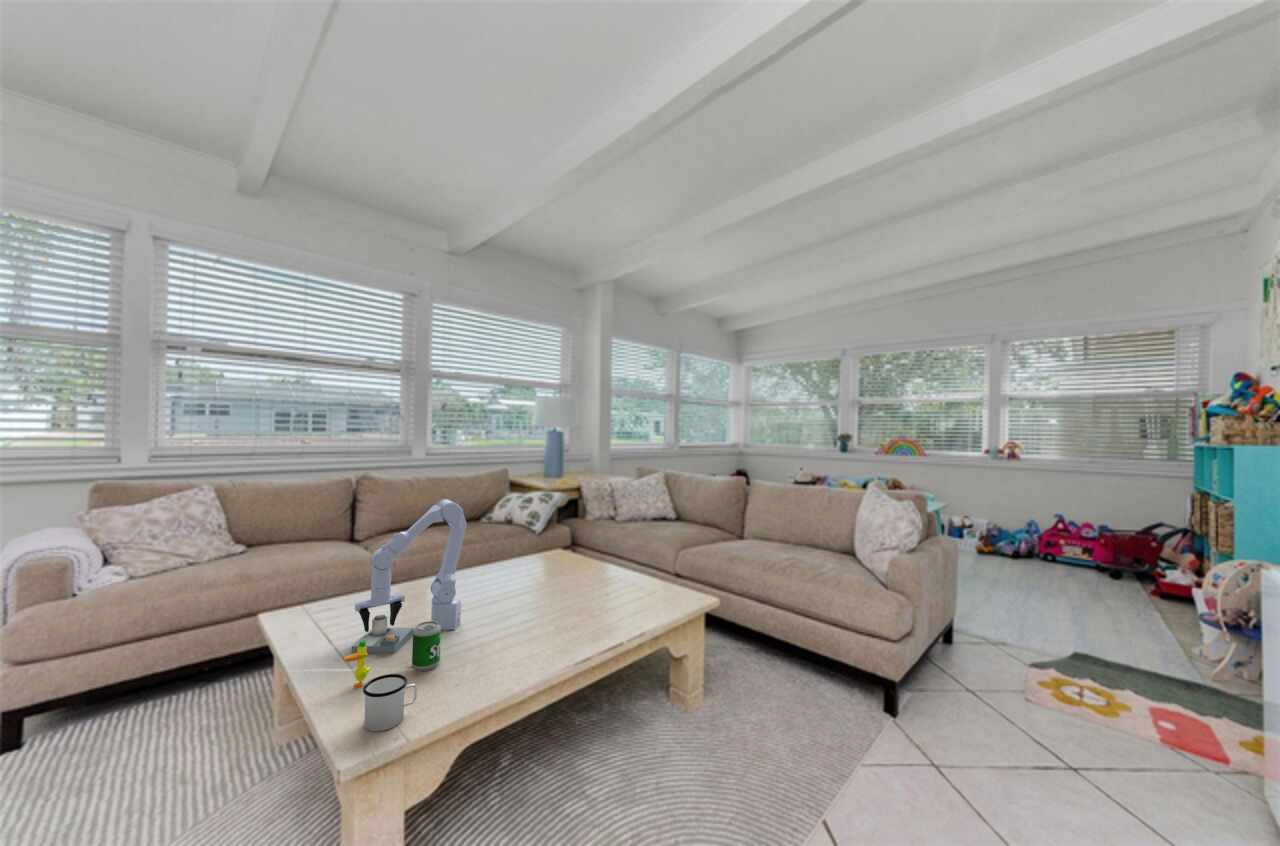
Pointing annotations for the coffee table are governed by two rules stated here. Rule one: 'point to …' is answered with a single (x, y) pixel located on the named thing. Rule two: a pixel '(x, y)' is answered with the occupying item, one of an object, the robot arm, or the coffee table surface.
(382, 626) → the cylinder
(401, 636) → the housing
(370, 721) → the mug
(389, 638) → the plunger
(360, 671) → the toy figure
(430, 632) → the soda can
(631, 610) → the coffee table surface
